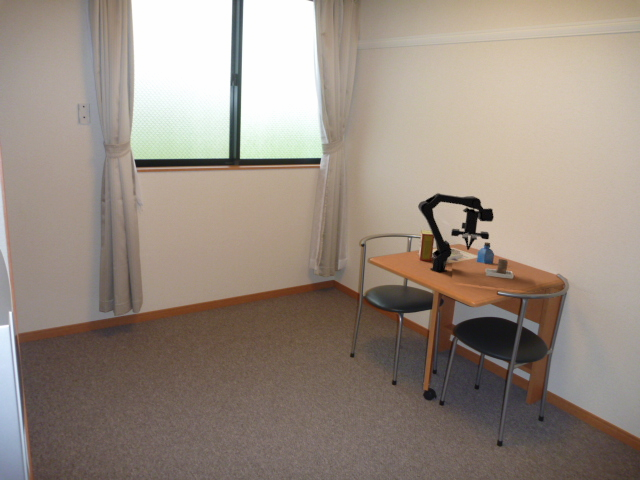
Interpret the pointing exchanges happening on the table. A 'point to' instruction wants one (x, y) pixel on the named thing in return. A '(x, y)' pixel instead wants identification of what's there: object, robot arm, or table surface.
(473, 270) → the table surface
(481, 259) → the perfume bottle
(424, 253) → the baking soda box
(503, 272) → the block
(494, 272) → the trap track
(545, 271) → the table surface
